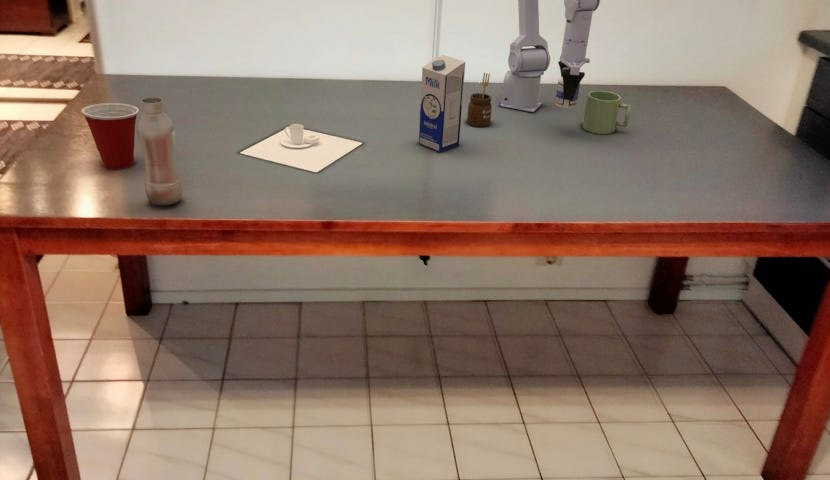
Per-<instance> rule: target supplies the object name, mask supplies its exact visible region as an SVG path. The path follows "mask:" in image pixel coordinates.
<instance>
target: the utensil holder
mask: <svg viewBox="0 0 830 480" xmlns="http://www.w3.org/2000/svg"><path fill="white" fill-rule="evenodd" d="M490 76H491V74H490V73H488V72H487V73H486V72H483V77H482V82H481V81H477V82H476V84H477V85H480V87H478V86H476V85H474V89H473V91H474V92H473V93H472V94H471V95H470V98H469V103H468V106H467V115H466V116H467V117H466V121H467V123H468V124H469V126H472V127H477V128H478V127H479V128H483V127H488V126H489V125H490V123H491V120H492V119H491V118H492V107H493V106H492V104H491V103H492V102H491V101H492V96H491V95H489V94H487V93H485V92H486V88H487V87H488V86H489V82H490ZM481 85H482V87H483V89H482V92H476V91H475V89H478V88H482V87H481Z"/></svg>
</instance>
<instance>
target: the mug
mask: <svg viewBox="0 0 830 480" xmlns="http://www.w3.org/2000/svg"><path fill="white" fill-rule="evenodd" d="M621 102H622V97H621V95H619V94H618V93H616V92H612V91H607V90H591V91H589V92H587V95H586V100H585V107H584V113H583V119H582V128H583V129H584V130H585V131H587V132H590V133H593V134H599V135H608V134H609V135H610V134H613V133H614V132H615V131H616V128H617V127H622V128H627V127H628V125H629V120H630V115H631V109H632V106H631V104H625V103H621ZM620 109H625V115H624V119H623V122H621V121H618V118H619V113H620Z"/></svg>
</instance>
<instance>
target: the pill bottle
mask: <svg viewBox="0 0 830 480" xmlns="http://www.w3.org/2000/svg"><path fill="white" fill-rule="evenodd" d="M563 69H565V70H569V67H565V68H563ZM580 87H581V82H580V83H579V85H578V87H577V90H576V93H575V95H574V98H573V100H564V97H563V77H561V76H560V77H559V78H558V81H557V87H556V95H555V100H554V101H555V102H554V104H555V106H557V107H559V108H562V109H574V108H576V107H577V105H578V99H579V92H580Z"/></svg>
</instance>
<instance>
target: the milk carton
mask: <svg viewBox="0 0 830 480" xmlns="http://www.w3.org/2000/svg"><path fill="white" fill-rule="evenodd" d="M466 62H467V61H465V60H462V59H458V58H456V57H452V56H449V55H445V54H441V55H440V56H437V57H436V58H434V59H432V60H431V61H429V62H428V63H427V64H425V65H424V66H422V67H421V68H422V69H421V71H422V73H421V88H420V89H421V91H420V110H419V114H420V115H419V129H418V131H419V133H418V145H421V146H422V147H425V148H427V149H430V150H433V151H434V152H435V151H436V152H438V153H442V152H445V151H448V150H451V149H453V148H456V147H459V146H460V136H461V124H462V123H461V122H462V111H463V110H462V109H463V98H464V85H465V72H466V71H465V70H466Z"/></svg>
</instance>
